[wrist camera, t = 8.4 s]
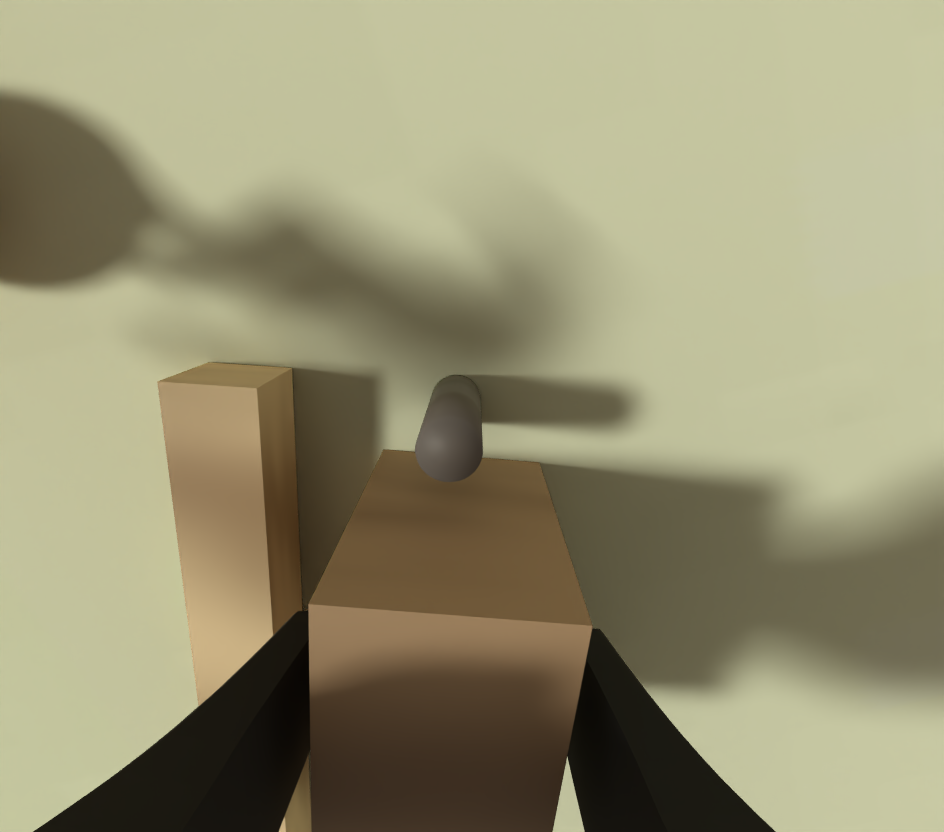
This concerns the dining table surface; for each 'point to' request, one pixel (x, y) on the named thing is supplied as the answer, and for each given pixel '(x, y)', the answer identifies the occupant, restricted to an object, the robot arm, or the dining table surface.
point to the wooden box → (445, 655)
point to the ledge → (264, 508)
